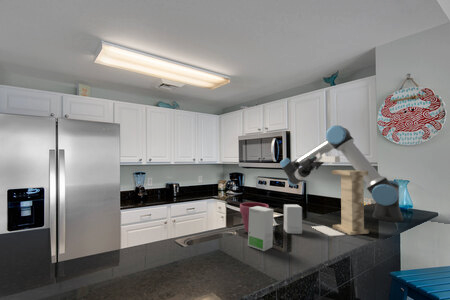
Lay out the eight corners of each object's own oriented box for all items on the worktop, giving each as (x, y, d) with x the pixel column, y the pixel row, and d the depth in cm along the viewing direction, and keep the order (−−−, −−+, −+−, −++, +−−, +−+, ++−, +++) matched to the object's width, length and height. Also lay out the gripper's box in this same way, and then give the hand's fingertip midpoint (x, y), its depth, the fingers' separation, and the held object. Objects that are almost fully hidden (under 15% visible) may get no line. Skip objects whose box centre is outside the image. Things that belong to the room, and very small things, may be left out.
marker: (315, 161, 150) (315, 156, 150) (339, 162, 130) (339, 156, 130) (310, 161, 149) (310, 156, 149) (335, 162, 129) (335, 156, 129)
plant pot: (265, 226, 126) (265, 202, 127) (271, 235, 112) (271, 207, 113) (238, 226, 126) (238, 201, 127) (240, 234, 112) (241, 207, 113)
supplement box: (302, 233, 115) (302, 207, 115) (286, 233, 115) (286, 207, 115) (298, 229, 122) (298, 204, 123) (283, 229, 122) (283, 204, 123)
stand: (349, 226, 128) (349, 170, 129) (368, 233, 116) (368, 171, 117) (332, 227, 125) (332, 170, 126) (350, 235, 113) (349, 171, 114)
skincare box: (247, 246, 98) (247, 207, 98) (256, 242, 103) (257, 205, 103) (264, 251, 92) (264, 210, 93) (273, 247, 97) (274, 208, 98)
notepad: (323, 226, 128) (323, 225, 128) (345, 235, 113) (345, 234, 113) (310, 227, 125) (310, 226, 125) (331, 236, 111) (331, 235, 111)
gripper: (314, 177, 160) (337, 160, 141) (293, 177, 156) (313, 159, 137) (311, 167, 164) (332, 149, 145) (290, 167, 160) (309, 148, 140)
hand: (323, 154), depth 141 cm, fingers closed on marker, 3 cm apart
